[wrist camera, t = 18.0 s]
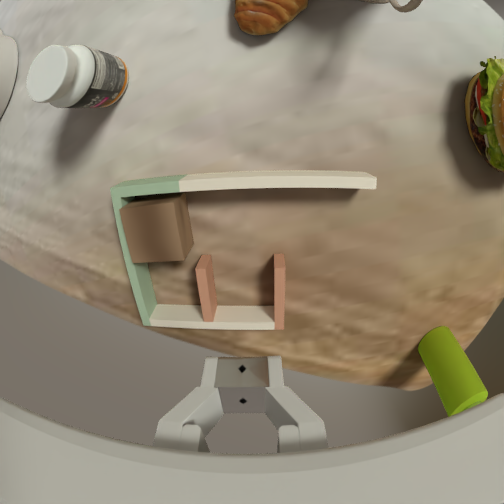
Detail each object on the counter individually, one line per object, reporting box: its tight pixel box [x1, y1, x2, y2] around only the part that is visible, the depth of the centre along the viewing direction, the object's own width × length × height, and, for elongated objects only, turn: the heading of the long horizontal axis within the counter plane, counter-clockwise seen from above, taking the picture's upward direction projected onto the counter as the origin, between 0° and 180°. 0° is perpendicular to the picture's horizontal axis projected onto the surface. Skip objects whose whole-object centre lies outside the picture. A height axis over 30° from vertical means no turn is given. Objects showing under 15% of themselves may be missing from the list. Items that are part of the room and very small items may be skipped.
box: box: [110, 170, 377, 330], centre depth 28 cm, size 24×16×3 cm, turn 92°
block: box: [119, 192, 194, 263], centre depth 26 cm, size 6×6×4 cm
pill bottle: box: [26, 45, 129, 108], centre depth 17 cm, size 6×6×10 cm
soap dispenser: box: [418, 326, 488, 417], centre depth 25 cm, size 6×7×20 cm
